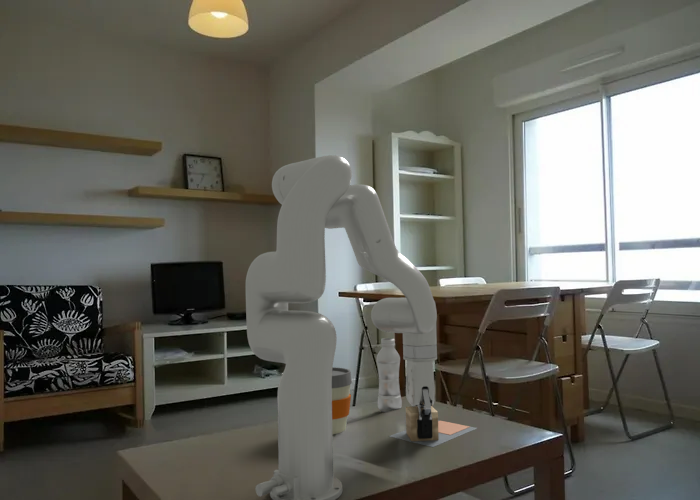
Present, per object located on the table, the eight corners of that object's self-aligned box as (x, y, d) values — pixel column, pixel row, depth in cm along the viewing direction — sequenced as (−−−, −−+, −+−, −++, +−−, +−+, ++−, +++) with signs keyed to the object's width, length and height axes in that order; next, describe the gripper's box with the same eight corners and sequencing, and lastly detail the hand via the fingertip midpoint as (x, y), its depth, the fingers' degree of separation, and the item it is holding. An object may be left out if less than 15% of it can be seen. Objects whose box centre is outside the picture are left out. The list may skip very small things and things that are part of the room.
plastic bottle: (400, 415, 145) (399, 340, 146) (375, 414, 147) (374, 340, 147) (403, 409, 152) (401, 337, 152) (379, 409, 153) (377, 337, 154)
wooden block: (411, 441, 118) (410, 413, 118) (406, 433, 124) (405, 406, 124) (438, 439, 119) (437, 412, 119) (432, 432, 125) (431, 405, 125)
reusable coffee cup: (361, 439, 125) (359, 373, 126) (309, 446, 121) (307, 378, 121) (341, 425, 137) (340, 365, 138) (293, 431, 132) (292, 369, 133)
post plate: (433, 454, 114) (432, 426, 114) (388, 442, 122) (388, 417, 122) (477, 434, 127) (477, 409, 127) (435, 425, 135) (434, 402, 135)
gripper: (397, 347, 131) (399, 423, 130) (410, 358, 113) (412, 446, 112) (428, 346, 131) (430, 422, 130) (445, 357, 114) (448, 445, 113)
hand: (422, 432), depth 121 cm, fingers closed on wooden block, 6 cm apart
